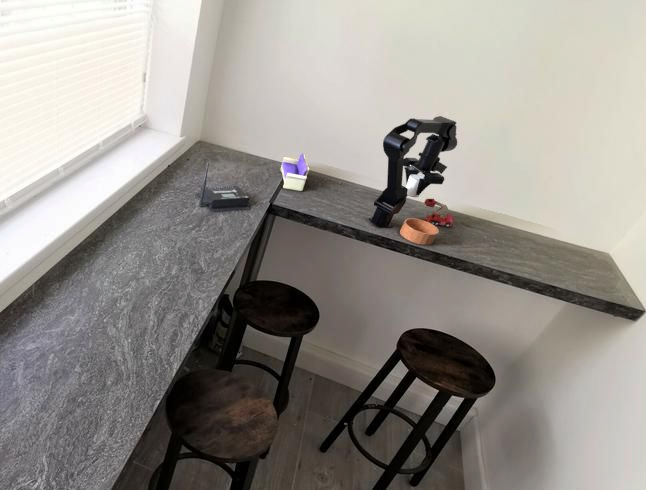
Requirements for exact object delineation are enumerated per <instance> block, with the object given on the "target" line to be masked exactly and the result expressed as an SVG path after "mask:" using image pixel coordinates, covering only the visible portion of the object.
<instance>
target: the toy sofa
mask: <svg viewBox="0 0 646 490" xmlns="http://www.w3.org/2000/svg"><path fill="white" fill-rule="evenodd" d="M309 171H310V167H309V165H308V162H307V159H306V153H301V154H300V155H299V158H293V157H289V156H283V159H282V162H281V165H280V169H279V172H281V173H282V174H281V175H282V180H283V186H282V188H283V189H287V190H292V191H293V190H294V191H299V192H302V191H303V190H304V187H305V184H306V180H307V179H308V177H307V176H308V174H309Z"/></svg>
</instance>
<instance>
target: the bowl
mask: <svg viewBox="0 0 646 490" xmlns="http://www.w3.org/2000/svg"><path fill="white" fill-rule="evenodd" d="M439 232H440V230H439V228H438V227H437V225H435V224H431V223H429V222H427V221H426V220H424V219H420V218H415V217H408V218H405V220H404V221H403V222H402V225H401V227H400V229H399V234H400V235H401V237H402V238H404V239H406V240H407V241H409V242H412V243H413V244H414V243H415V244H417V245H424V246H429V245H432V244H433V243H434V242H435V240H436V238H437V236H438V234H439Z"/></svg>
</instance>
